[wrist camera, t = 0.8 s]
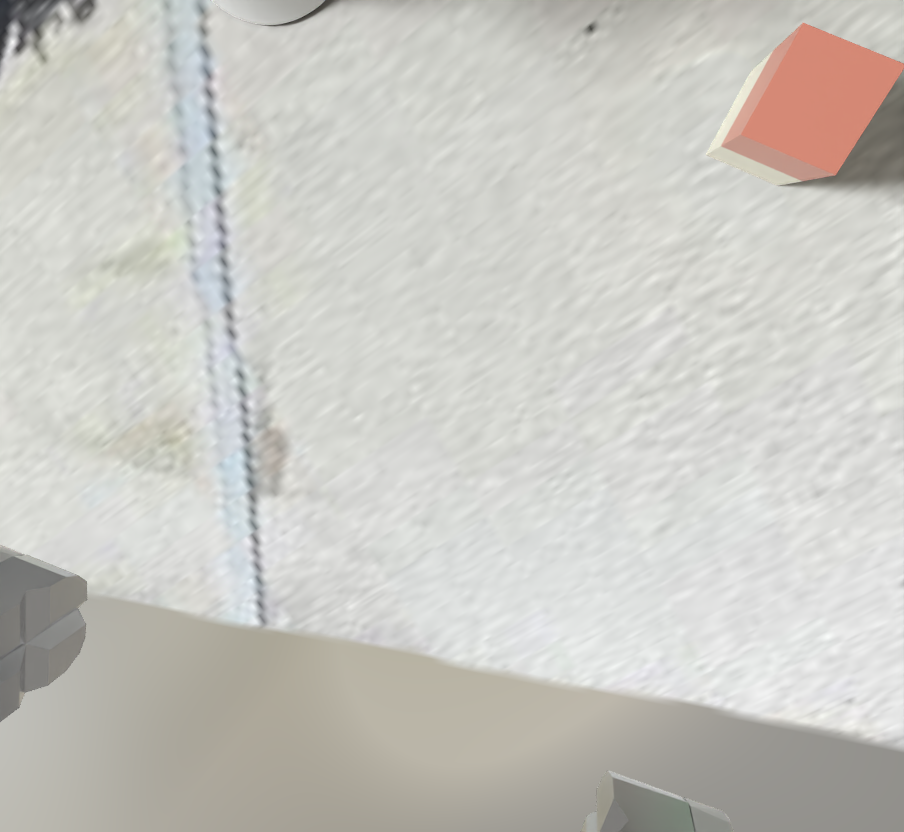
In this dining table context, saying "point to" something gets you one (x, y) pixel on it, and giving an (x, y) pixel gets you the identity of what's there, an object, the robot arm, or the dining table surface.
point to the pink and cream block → (804, 108)
